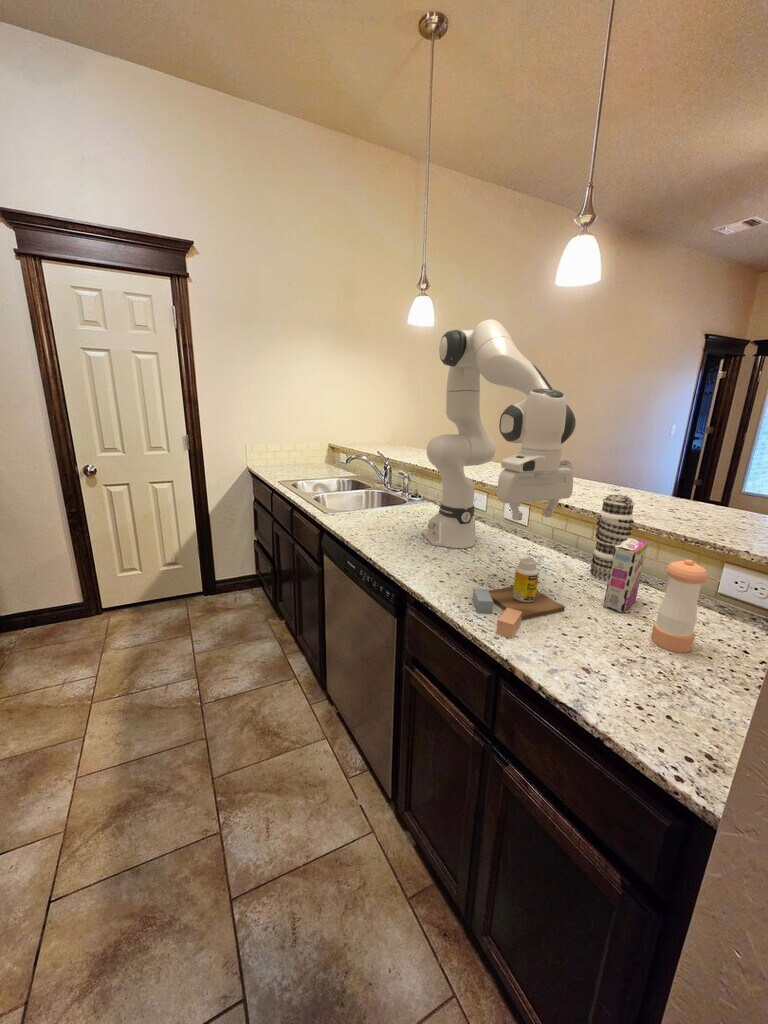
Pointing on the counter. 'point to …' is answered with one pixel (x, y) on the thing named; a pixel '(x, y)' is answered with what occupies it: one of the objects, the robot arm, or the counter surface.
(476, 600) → the brick blue
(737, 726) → the counter surface
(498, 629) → the brick terracotta
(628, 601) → the candy bar box
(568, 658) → the counter surface
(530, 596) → the supplement bottle
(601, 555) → the decorative candle
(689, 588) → the pepper shaker
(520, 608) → the board
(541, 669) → the counter surface
